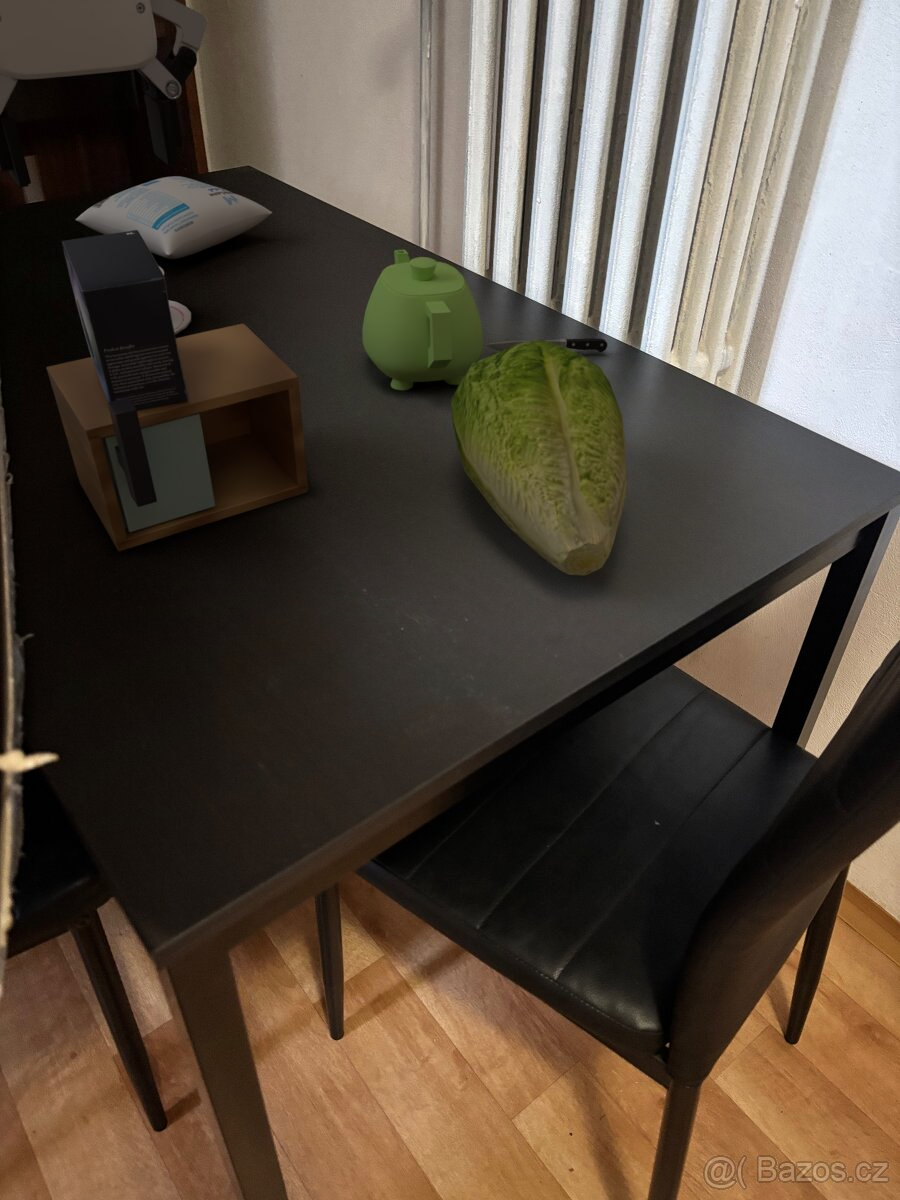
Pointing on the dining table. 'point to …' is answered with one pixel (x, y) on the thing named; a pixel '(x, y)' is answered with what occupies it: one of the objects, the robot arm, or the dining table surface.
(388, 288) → the teapot
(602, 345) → the knife
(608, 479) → the lettuce
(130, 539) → the cabinet
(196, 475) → the sliding door
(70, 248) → the small box
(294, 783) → the dining table surface
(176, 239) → the pouch
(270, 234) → the dining table surface
